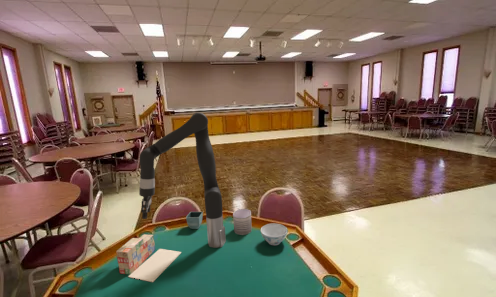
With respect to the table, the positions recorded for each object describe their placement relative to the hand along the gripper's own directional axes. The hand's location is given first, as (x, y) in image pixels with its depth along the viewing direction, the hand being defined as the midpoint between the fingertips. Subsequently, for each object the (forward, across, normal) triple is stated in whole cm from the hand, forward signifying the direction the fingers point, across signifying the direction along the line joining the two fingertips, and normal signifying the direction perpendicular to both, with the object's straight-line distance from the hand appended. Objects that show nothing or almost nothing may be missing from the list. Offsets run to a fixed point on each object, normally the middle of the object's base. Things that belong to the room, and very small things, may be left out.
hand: (146, 215), depth 137 cm
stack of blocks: (+23, -6, +2) cm, 24 cm away
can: (+15, +11, -56) cm, 59 cm away
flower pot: (+19, +24, -27) cm, 41 cm away
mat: (+22, -11, -8) cm, 26 cm away
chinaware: (+13, -7, -71) cm, 72 cm away
